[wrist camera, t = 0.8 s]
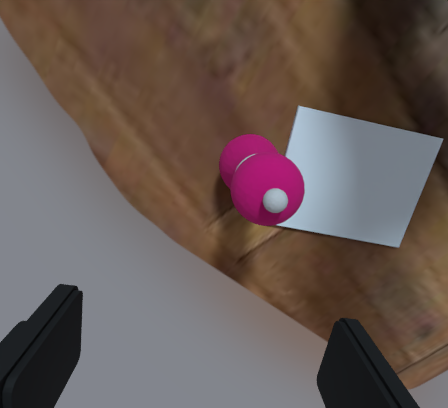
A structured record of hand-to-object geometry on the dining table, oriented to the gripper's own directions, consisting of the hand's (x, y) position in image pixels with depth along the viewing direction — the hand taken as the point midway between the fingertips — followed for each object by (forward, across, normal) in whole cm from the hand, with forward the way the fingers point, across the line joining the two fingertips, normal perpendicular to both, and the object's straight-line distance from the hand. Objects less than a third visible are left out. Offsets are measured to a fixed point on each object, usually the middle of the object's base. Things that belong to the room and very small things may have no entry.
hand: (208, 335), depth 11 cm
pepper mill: (+31, -4, -2) cm, 31 cm away
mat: (+30, -19, -2) cm, 36 cm away
